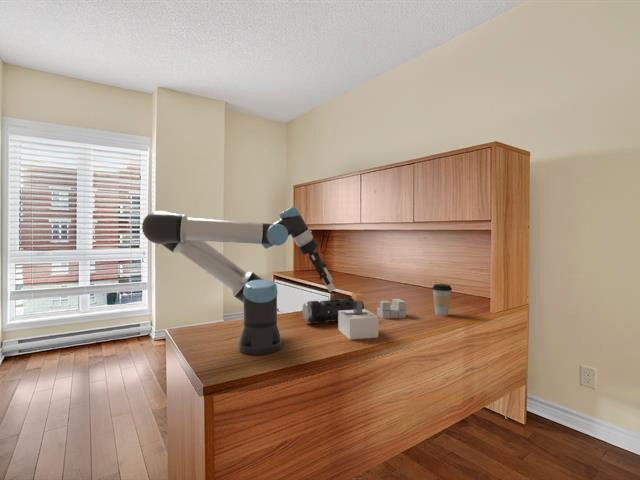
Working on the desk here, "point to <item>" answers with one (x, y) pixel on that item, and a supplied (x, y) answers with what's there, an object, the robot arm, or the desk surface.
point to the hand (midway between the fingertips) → (331, 285)
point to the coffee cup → (441, 298)
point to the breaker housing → (358, 324)
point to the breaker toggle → (357, 302)
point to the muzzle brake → (325, 309)
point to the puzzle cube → (392, 309)
